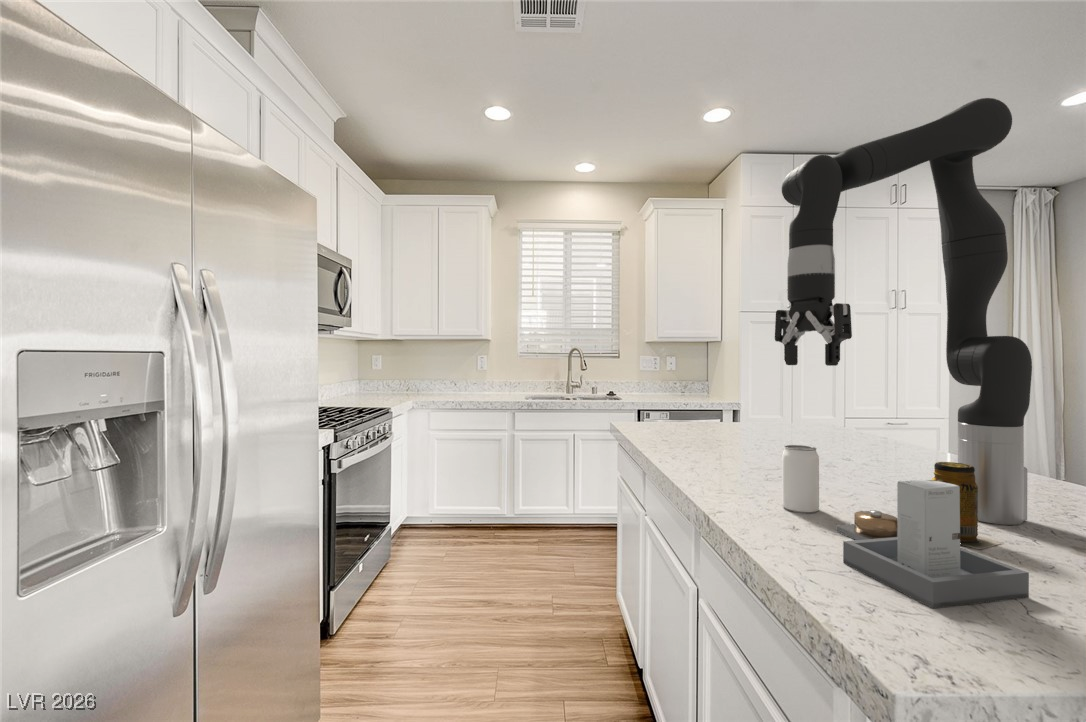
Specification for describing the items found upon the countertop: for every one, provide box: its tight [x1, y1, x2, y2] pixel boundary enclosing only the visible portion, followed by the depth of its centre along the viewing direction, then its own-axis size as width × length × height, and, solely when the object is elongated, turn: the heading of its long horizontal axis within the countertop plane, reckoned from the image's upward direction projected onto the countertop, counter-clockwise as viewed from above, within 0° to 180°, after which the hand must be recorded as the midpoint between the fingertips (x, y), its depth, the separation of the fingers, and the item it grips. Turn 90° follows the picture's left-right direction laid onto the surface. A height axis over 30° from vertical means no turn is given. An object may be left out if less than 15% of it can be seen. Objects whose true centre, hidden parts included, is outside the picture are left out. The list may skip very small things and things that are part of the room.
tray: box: [842, 537, 1030, 609], centre depth 70 cm, size 14×14×3 cm
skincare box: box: [896, 479, 961, 578], centre depth 70 cm, size 6×4×12 cm
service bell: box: [835, 509, 898, 540], centre depth 86 cm, size 8×8×4 cm
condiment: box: [931, 461, 1003, 550], centre depth 85 cm, size 7×8×12 cm
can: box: [781, 444, 820, 514], centre depth 102 cm, size 6×6×12 cm
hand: (810, 365), depth 93 cm, fingers open, 8 cm apart
